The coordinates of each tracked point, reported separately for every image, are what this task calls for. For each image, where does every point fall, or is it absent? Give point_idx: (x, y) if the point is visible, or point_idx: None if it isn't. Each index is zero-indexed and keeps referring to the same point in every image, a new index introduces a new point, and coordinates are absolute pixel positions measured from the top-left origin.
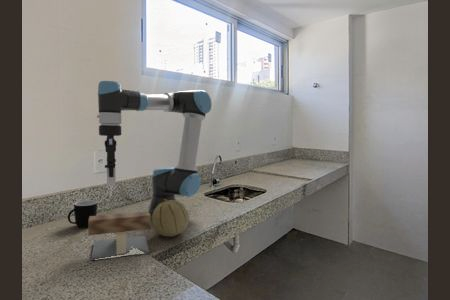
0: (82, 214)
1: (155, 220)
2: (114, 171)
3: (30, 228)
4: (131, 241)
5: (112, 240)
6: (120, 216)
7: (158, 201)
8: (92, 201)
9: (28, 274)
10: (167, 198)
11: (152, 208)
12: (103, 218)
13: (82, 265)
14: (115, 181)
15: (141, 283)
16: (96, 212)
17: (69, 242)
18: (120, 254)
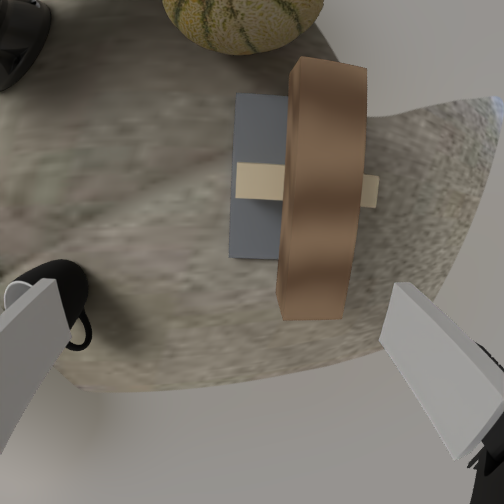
0: (75, 313)
1: (277, 42)
2: (488, 367)
3: (86, 388)
4: (273, 142)
5: (241, 202)
6: (339, 197)
7: (3, 45)
8: (8, 293)
9: (341, 360)
10: (9, 12)
11: (9, 72)
12: (339, 268)
13: (355, 276)
14: (429, 300)
15: (465, 168)
16: (45, 267)
17: (193, 317)
18: None
